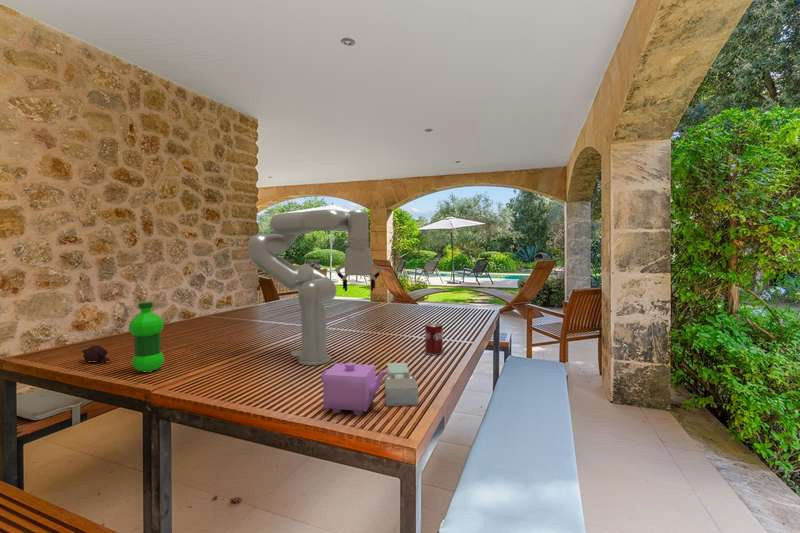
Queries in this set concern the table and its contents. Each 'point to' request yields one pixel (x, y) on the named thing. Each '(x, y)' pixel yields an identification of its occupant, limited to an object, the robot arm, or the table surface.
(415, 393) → the steel hinge leaf
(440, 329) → the soda can
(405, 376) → the sage hinge leaf
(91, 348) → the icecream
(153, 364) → the plastic bottle
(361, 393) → the teapot
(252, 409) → the table surface
